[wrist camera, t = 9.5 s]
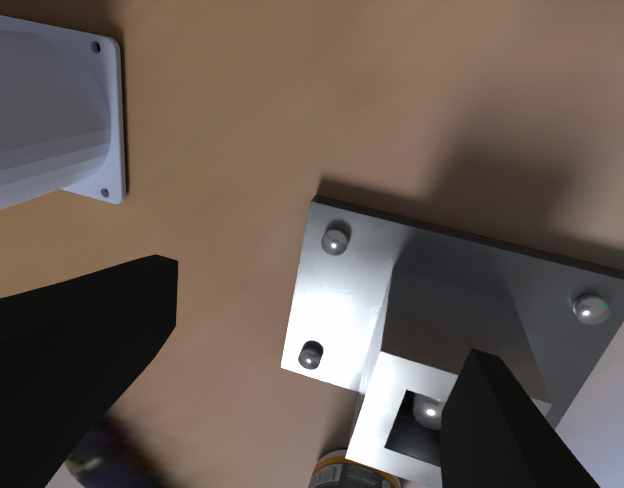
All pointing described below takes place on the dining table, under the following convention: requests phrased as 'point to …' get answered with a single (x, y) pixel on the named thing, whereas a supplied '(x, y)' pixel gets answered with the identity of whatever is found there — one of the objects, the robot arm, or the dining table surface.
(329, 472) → the pill bottle
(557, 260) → the dark grey mounting plate
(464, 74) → the dining table surface
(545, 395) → the grey square socket
